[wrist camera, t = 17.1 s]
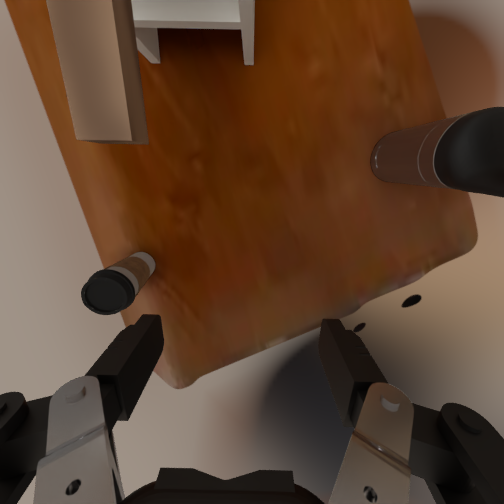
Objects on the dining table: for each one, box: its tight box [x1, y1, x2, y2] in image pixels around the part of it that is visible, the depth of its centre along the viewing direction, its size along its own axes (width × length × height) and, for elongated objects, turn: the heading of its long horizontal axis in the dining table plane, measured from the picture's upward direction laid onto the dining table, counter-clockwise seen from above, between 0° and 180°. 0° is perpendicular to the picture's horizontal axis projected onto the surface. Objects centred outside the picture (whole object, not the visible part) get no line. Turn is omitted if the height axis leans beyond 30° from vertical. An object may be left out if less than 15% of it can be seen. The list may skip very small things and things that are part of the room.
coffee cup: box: [81, 252, 155, 315], centre depth 47 cm, size 8×8×15 cm
